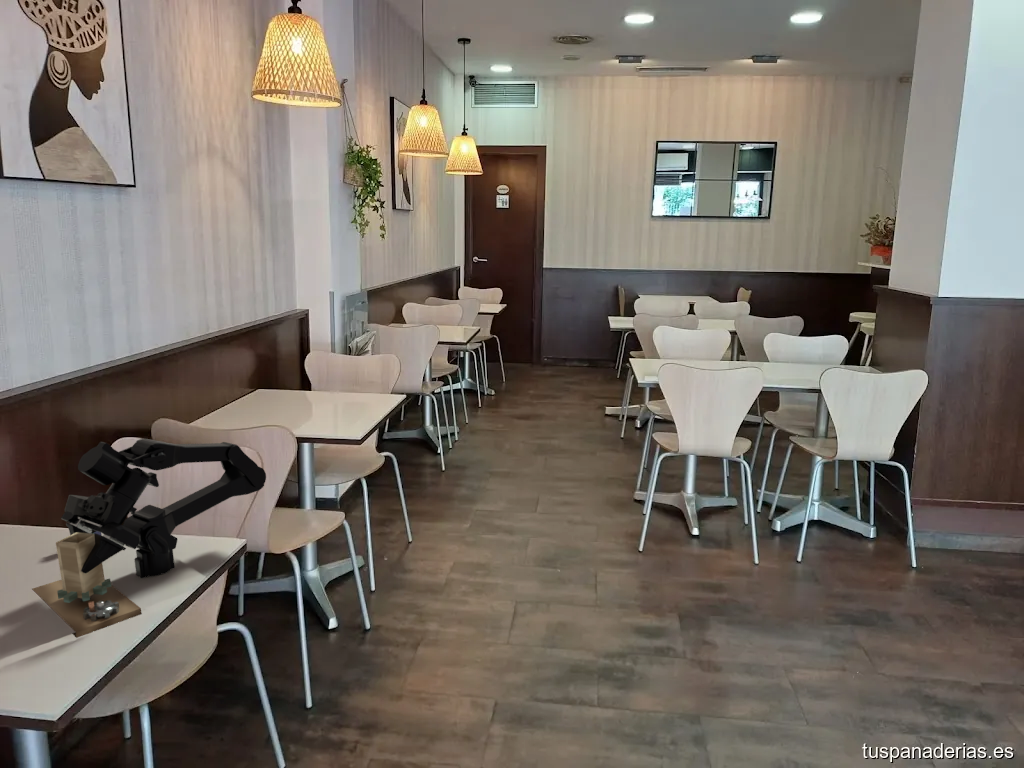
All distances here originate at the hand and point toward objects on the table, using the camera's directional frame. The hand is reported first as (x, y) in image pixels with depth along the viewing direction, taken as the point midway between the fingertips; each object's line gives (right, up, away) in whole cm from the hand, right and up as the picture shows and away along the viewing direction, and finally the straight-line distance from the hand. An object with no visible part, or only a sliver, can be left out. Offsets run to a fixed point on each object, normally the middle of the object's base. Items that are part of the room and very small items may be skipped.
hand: (74, 568), depth 145 cm
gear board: (0, -8, +3) cm, 8 cm away
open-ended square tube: (+1, -5, +2) cm, 6 cm away
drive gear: (+7, -8, -3) cm, 11 cm away
